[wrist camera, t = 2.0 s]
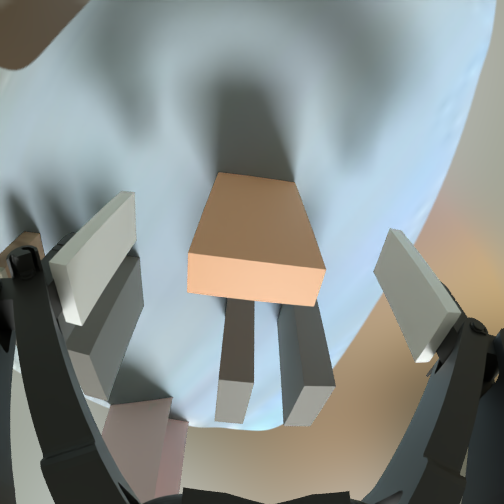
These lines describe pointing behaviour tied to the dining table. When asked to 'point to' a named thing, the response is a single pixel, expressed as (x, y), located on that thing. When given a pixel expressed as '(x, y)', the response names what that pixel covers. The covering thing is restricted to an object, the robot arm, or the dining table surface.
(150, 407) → the greeting card
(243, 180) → the orange rectangular block
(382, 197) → the dining table surface
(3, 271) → the block
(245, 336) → the domino
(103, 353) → the domino
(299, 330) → the domino
